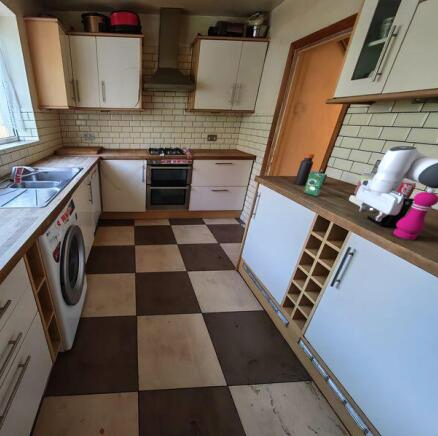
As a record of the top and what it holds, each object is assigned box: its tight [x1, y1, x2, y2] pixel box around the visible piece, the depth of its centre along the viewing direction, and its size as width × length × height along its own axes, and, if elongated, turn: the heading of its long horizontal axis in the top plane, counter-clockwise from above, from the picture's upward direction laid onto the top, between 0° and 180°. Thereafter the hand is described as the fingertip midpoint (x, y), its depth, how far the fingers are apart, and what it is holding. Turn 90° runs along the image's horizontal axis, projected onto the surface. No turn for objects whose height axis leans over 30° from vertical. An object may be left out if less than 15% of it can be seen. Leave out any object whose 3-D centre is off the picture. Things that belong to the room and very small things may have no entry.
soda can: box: [397, 179, 417, 198], centre depth 121 cm, size 7×7×13 cm
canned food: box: [353, 172, 376, 195], centre depth 135 cm, size 11×11×12 cm
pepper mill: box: [393, 188, 438, 241], centre depth 87 cm, size 7×7×20 cm
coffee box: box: [303, 170, 328, 197], centre depth 133 cm, size 8×3×13 cm, turn 26°
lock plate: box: [348, 194, 371, 209], centre depth 122 cm, size 14×10×3 cm
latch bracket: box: [366, 195, 414, 229], centre depth 99 cm, size 12×9×13 cm
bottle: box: [294, 153, 315, 186], centre depth 151 cm, size 7×7×20 cm
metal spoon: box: [367, 196, 406, 214], centre depth 98 cm, size 13×3×3 cm, turn 81°
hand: (369, 215), depth 101 cm, fingers open, 8 cm apart
